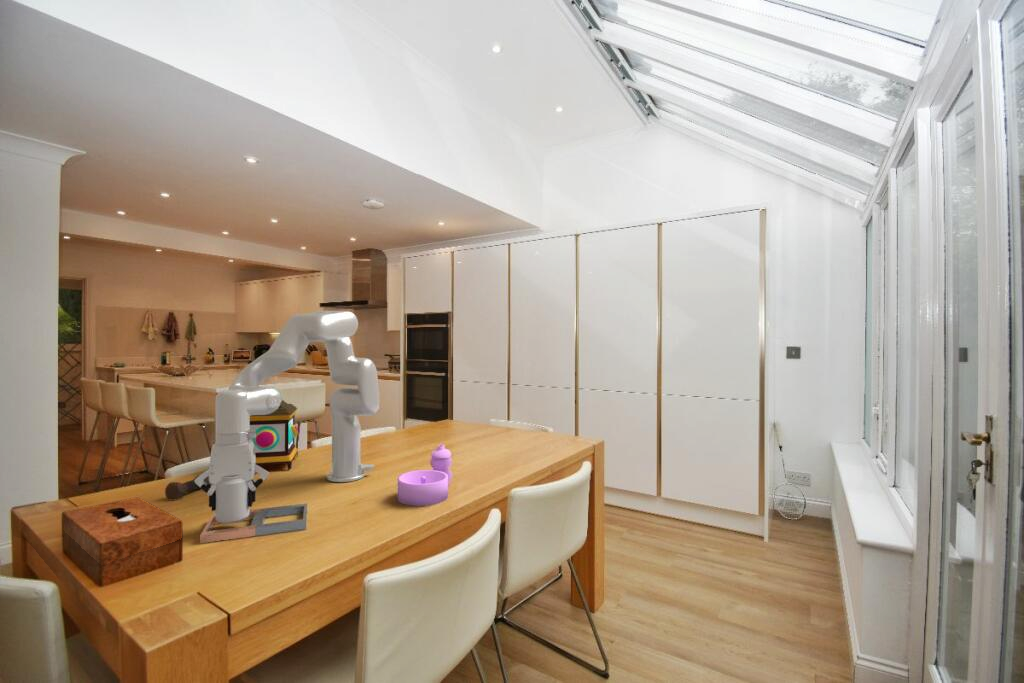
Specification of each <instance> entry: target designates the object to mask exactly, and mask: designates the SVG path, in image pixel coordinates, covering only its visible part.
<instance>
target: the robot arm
mask: <svg viewBox="0 0 1024 683" xmlns="http://www.w3.org/2000/svg"><path fill="white" fill-rule="evenodd" d="M358 328H359V321H358V318H357V316H356V314H355V313H353V312H351V311H349V310H315V311H312V312H310V313H296V314H294V315H292V316H290V317H289V319H288V320H287V321H286V323H285V324H284V326H283V327H282V329H281V331H280V333H279V334H278V336H277V337H276V339H275V340H274V342H273V343H272V344H271V346H270V348H269V349H268V351H266V352H265V353H263V354H261V355H260V356H257V358H255V359H254V360H253V361H251V362H250V363H248V364H247V365H246V366H245V367H244V368H243V369H241V370H240V372H239V373H238V374H237V375H236V377H234V380H233V382H232V383H231V384H230V386H229V387H228V389H226V390H225V389H224V390H221V391H219V392H217V393H216V395H215V420H214V421H215V443H214V444H212V447H211V450H210V457H209V466H208V469H207V470H205V471H204V472H203V473H202V474H199V475H200V476H199V475H198V476H199V477H197V478H196V479H195V478H194V479H195V481H194V482H195V483H196V484H197V485H198V486H199V487H200V488H201V489H202V490H201V491H203V492H204V493H206V495H207V496H208V507H209V508H211V512H214V511H215V510H216V485H217V483H218V482H219V481H221V480H222V477H235V476H241V478H242V479H244V480H245V481H246V482H247V485H248V487H249V488H250V490H249V492H248V506H249V507H253V503H256V496H257V495H256V492H257V491H256V490H257V489H258V487H260V486H261V485H262V484H263V482H264V481H265V480H266V479H267V477H268V476H269V473H270V472H269V471H268V470H266V469H264V468H263V467H262V466H261V465H256V457H255V448H254V443H253V441H250V439H251V438H256V432H255V433H253V432H251V431H250V416H251V415H266V414H270V413H272V412H274V411H275V410H277V409H278V407H279V406H280V403H281V398H282V397H281V393H280V391H278V390H277V389H276V388H275V389H276V390H275V389H273V388H274V387H272V388H270V387H271V386H260V385H261V384H262V383H263V382H265V381H266V380H267V379H269V378H271V377H273V376H276V375H278V374H280V373H284V372H287V371H288V370H291V369H293V368H295V367H296V366H297V365H298V363H299V362H300V360H301V358H302V357H303V355H304V353H305V351H306V350H307V347H308V346H309V344H310V343H312V342H322V344H324V346H325V349H326V356H327V361H328V362H327V363H328V368H329V369H328V370H329V375H330V376H329V377H330V379H331V381H332V383H335V384H337V385H342V386H343V387H338V388H335V389H334V390H333V391H332V392H331V393H330V395H329V398H328V406H329V409H330V410H329V412H330V416H331V471H330V472H329V473H328V474H326V480H328V481H330V482H334V483H348V482H349V483H350V482H353V481H357V480H358V481H359V480H361V479H362V478H364V477H365V474H366V472H367V471H374V470H375V465H374V464H370V463H367V464H363V463H362V461H361V432H362V431H361V430H362V428H361V423H360V420H359V418H358V416H363V417H370V416H374V415H375V414H376V413H377V412H378V410H379V408H380V403H381V399H380V398H381V396H380V395H381V394H380V386H379V378H378V370H377V367H376V365H375V363H374V362H373V360H372V359H370V358H367V357H356V356H355V353H354V347H353V342H352V339H351V338H350V337H352V336H354V335H355V333H356V332H357V330H358ZM349 386H351V387H349ZM352 386H354V387H352ZM355 386H356V387H355ZM279 393H280V394H279ZM257 473H258V474H259V475H260V476H259V478H257V480H256V481H255V480H254V478H255V476H256V474H257ZM208 476H209V483H210V484H211V485H208V484H207V483H205V482H204V479H205V478H206V477H208Z"/></svg>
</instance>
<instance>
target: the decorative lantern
mask: <svg viewBox="0 0 1024 683" xmlns="http://www.w3.org/2000/svg"><path fill="white" fill-rule="evenodd" d="M269 387H270V388H273V389H275V390H277V389H276V388H275V387H272V386H269ZM279 394H280V395H281V393H280V392H279ZM297 411H298V407H297V406H295V405H294V404H292V403H287V402H286V401H285V400H283V398H282V397H281V403H280V406H279V407H278V409H277V410H275V411H274V412H272V413H270V414H266V415H251V416H250V431H251V432H253V433H255V432H256V438H251V439H250V441H253V443H254V448H255V457H256V465H258V466H263V465H278V464H280V465H281V464H284V465H286V468H287V470H288V471H290V469H292V468H293V467H292V464H293V461H294V460H297V459H298V454H299V451H298V449H297V447H296V445H295V438H296V437H298V435H299V429H298V427H297V425H295V418H296V417H295V416H296V413H297ZM296 458H297V459H296Z"/></svg>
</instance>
